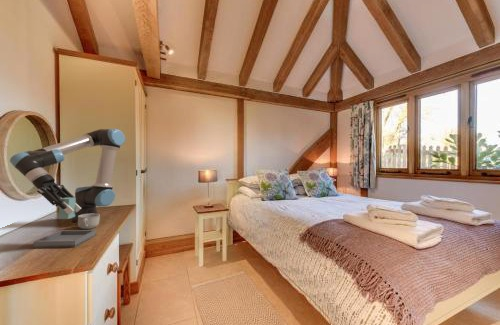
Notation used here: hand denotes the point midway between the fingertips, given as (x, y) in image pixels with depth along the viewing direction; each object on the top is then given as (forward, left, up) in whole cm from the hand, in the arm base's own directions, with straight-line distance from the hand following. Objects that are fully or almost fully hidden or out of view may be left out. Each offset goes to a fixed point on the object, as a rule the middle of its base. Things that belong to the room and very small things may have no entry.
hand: (75, 211), depth 105 cm
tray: (0, -4, -15) cm, 16 cm away
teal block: (0, -4, -3) cm, 5 cm away
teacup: (-20, -7, -16) cm, 26 cm away
